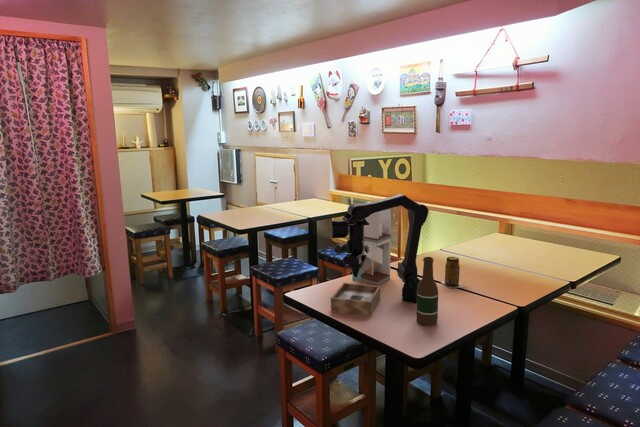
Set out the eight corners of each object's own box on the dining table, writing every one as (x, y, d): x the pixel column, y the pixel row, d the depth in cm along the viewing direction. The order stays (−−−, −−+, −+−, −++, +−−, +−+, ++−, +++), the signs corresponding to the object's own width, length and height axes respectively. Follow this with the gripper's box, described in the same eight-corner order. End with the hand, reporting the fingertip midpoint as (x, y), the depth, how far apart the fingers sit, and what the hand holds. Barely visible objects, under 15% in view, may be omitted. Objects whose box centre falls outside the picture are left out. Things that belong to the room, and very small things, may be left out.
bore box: (380, 299, 182) (380, 286, 181) (370, 316, 166) (370, 302, 165) (343, 295, 187) (343, 282, 186) (330, 311, 171) (330, 298, 170)
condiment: (455, 280, 202) (456, 255, 200) (464, 287, 194) (466, 260, 192) (440, 282, 200) (441, 256, 198) (449, 288, 192) (450, 262, 190)
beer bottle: (433, 328, 155) (435, 262, 151) (412, 323, 159) (413, 259, 155) (440, 320, 162) (442, 256, 157) (419, 315, 166) (421, 253, 161)
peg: (361, 279, 176) (361, 259, 174) (359, 282, 173) (359, 262, 171) (353, 278, 177) (353, 259, 175) (351, 281, 174) (351, 261, 172)
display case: (356, 279, 206) (356, 204, 200) (369, 273, 214) (369, 201, 207) (377, 284, 199) (377, 207, 192) (390, 278, 207) (390, 204, 200)
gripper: (342, 230, 182) (343, 266, 185) (329, 241, 165) (329, 281, 168) (369, 231, 179) (369, 268, 182) (358, 243, 162) (358, 284, 165)
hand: (356, 275), depth 174 cm, fingers closed on peg, 3 cm apart
